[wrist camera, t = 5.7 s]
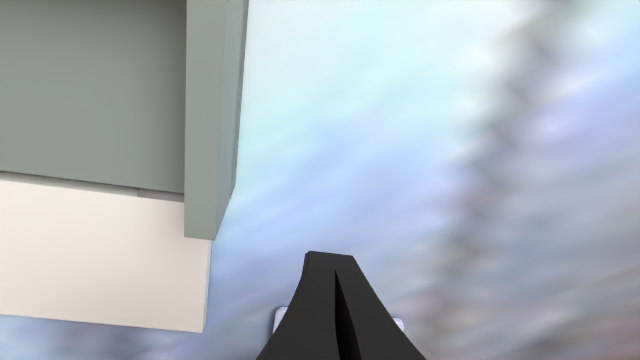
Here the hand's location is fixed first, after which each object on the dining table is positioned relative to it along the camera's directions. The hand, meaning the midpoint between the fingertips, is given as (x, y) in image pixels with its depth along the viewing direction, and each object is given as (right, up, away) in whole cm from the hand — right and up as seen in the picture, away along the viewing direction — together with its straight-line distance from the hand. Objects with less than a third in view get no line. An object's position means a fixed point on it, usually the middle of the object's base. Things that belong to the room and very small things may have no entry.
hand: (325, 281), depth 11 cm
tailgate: (-13, -1, +10) cm, 16 cm away
